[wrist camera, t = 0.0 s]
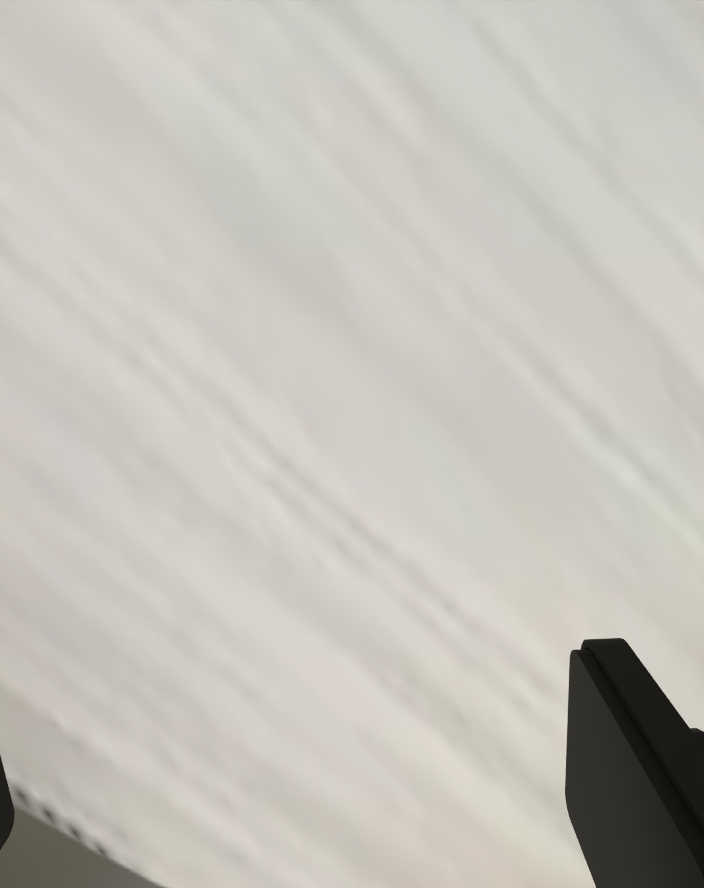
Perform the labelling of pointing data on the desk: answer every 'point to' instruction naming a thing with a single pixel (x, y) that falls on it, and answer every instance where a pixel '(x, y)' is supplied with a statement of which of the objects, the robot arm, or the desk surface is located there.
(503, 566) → the desk surface
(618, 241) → the desk surface
